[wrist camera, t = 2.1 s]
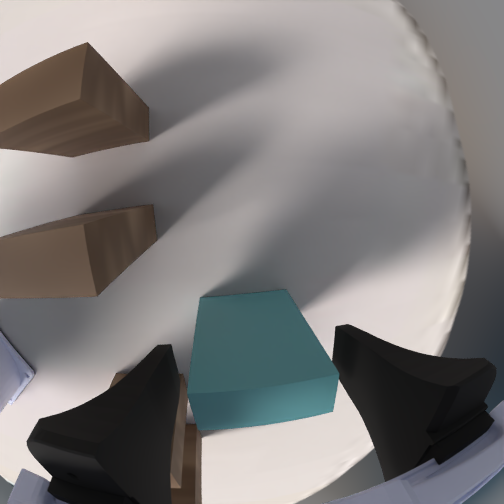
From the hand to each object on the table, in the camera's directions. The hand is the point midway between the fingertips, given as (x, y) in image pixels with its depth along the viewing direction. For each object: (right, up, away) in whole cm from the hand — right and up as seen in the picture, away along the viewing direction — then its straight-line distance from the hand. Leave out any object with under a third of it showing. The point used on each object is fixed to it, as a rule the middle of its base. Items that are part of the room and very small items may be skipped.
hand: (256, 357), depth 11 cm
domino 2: (-8, +6, +3) cm, 10 cm away
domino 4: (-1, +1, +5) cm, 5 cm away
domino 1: (-8, +11, +1) cm, 14 cm away
